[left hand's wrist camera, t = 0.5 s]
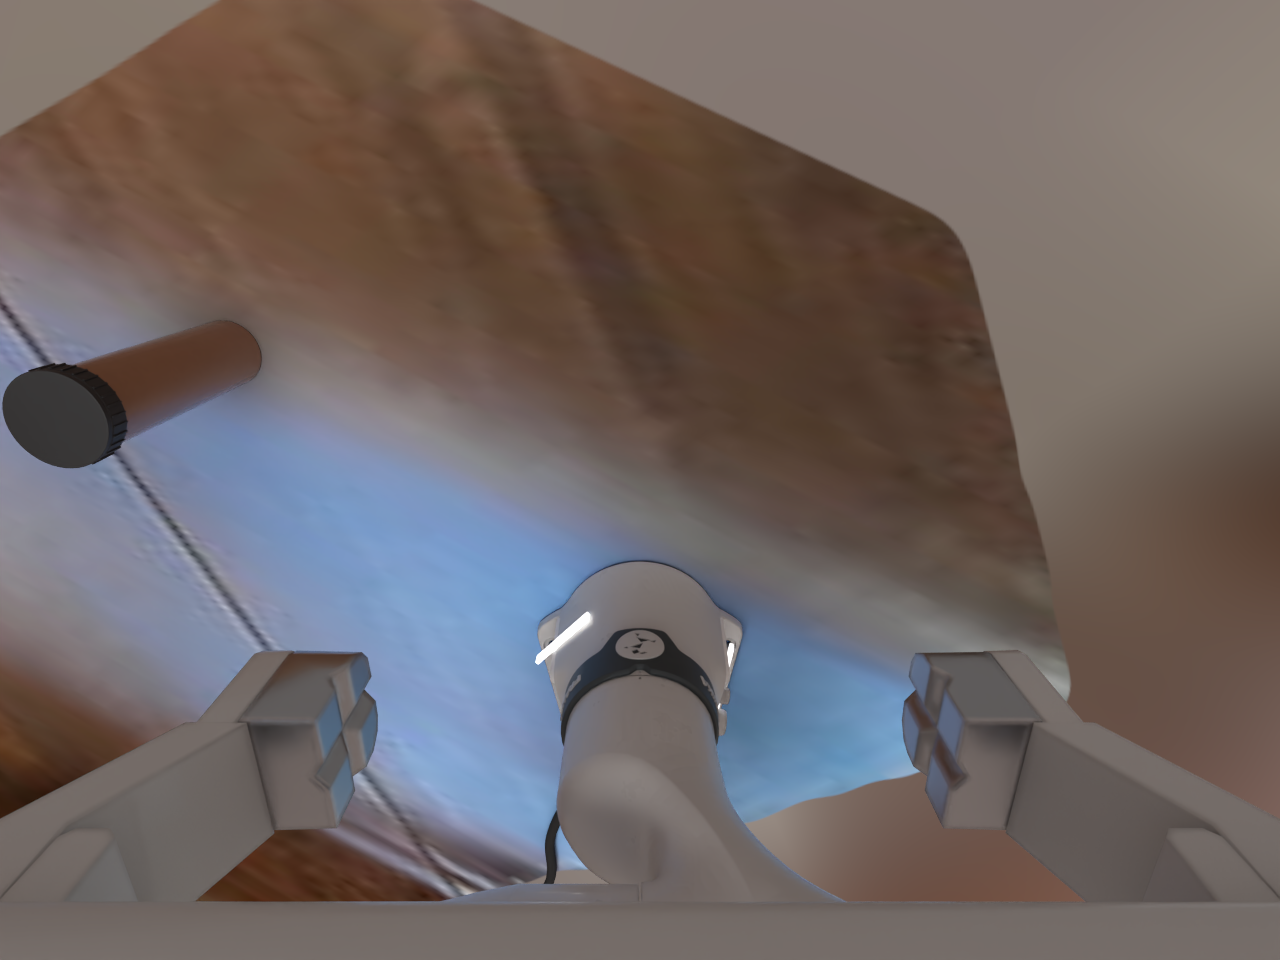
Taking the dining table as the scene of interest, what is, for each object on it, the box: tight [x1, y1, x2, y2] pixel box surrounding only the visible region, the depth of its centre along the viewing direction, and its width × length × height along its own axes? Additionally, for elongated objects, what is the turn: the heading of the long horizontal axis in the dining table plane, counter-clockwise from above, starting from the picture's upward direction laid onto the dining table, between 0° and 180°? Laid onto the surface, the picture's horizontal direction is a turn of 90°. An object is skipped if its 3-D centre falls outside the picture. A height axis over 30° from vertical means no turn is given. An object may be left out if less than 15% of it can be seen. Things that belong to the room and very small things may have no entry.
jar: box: [72, 320, 261, 443], centre depth 49 cm, size 5×5×18 cm
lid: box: [3, 363, 128, 468], centre depth 41 cm, size 6×6×2 cm
